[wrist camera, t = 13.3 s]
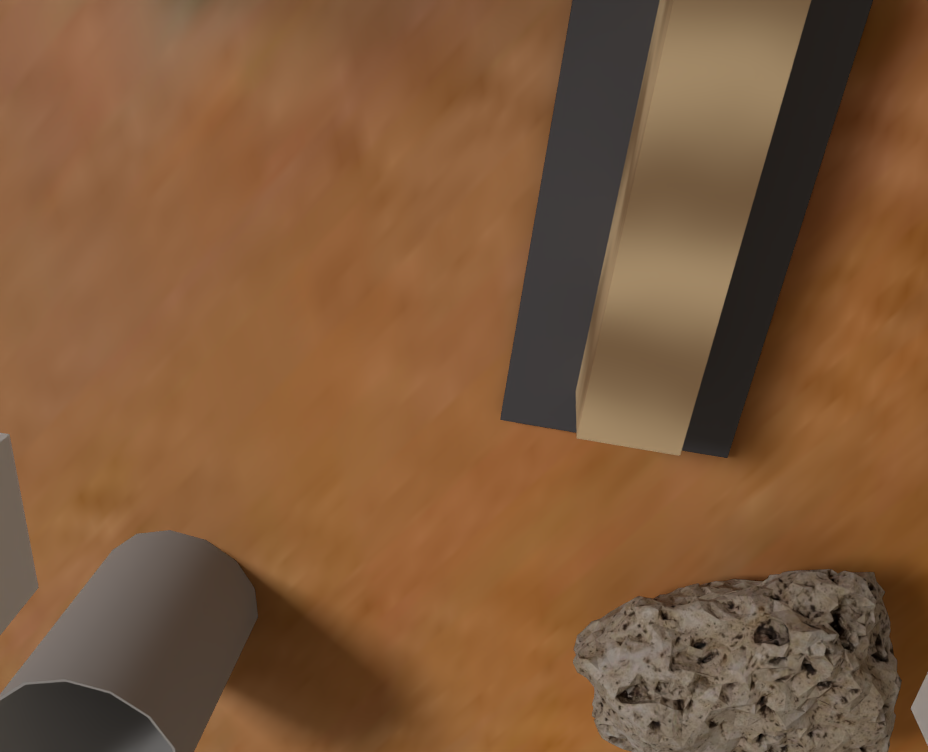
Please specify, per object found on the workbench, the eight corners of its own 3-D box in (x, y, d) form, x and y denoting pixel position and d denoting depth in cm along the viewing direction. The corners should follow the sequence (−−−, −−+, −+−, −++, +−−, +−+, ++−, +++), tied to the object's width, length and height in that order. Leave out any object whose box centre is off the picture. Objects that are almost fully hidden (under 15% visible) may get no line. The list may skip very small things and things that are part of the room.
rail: (692, -153, 27) (711, -171, 24) (816, -135, 27) (854, -151, 24) (575, 391, 36) (576, 438, 33) (668, 407, 36) (679, 455, 32)
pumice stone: (570, 695, 45) (572, 835, 37) (573, 508, 40) (575, 627, 32) (847, 709, 43) (903, 858, 36) (886, 515, 38) (962, 643, 31)
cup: (285, 635, 45) (216, 800, 36) (160, 671, 47) (65, 836, 38) (202, 510, 42) (104, 657, 33) (73, 556, 44) (-53, 705, 35)
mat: (613, -237, 27) (614, -241, 26) (928, -194, 27) (935, -198, 26) (501, 413, 38) (500, 419, 37) (725, 450, 37) (727, 458, 37)
